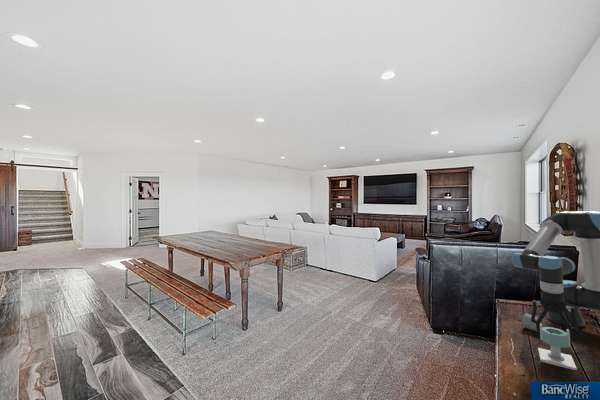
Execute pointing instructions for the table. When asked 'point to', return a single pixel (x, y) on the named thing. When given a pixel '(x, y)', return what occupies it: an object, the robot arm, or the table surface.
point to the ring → (555, 337)
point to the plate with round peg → (556, 357)
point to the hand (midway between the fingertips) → (554, 341)
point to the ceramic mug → (531, 325)
